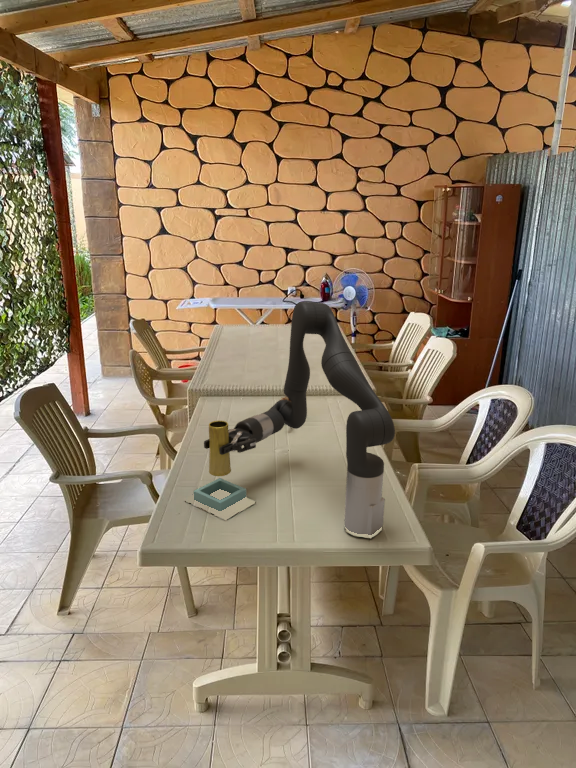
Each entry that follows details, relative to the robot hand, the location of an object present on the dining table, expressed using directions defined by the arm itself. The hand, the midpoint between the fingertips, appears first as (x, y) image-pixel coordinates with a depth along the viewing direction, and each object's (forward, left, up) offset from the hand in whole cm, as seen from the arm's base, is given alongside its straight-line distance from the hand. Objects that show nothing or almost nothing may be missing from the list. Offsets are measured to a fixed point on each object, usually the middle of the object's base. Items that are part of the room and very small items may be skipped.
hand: (212, 448), depth 166 cm
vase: (0, -3, -8) cm, 9 cm away
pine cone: (+22, -62, -18) cm, 68 cm away
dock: (0, -2, -18) cm, 18 cm away
